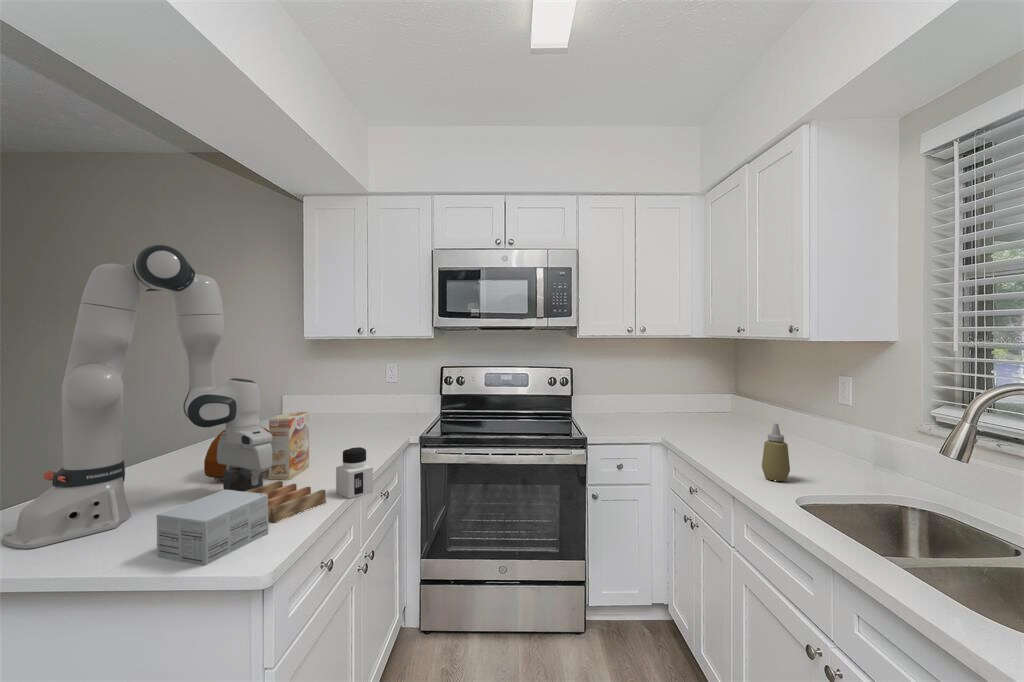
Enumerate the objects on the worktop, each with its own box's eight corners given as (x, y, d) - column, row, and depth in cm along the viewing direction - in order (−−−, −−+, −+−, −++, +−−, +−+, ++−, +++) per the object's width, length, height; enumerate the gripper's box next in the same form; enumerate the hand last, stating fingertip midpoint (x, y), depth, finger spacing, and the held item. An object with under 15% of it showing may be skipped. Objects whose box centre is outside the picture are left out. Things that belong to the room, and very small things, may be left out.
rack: (274, 522, 119) (274, 508, 119) (225, 509, 127) (225, 496, 127) (326, 502, 133) (326, 490, 133) (279, 492, 142) (279, 480, 142)
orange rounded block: (256, 463, 174) (256, 417, 174) (278, 464, 172) (278, 417, 172) (202, 482, 151) (202, 429, 151) (227, 484, 149) (227, 430, 149)
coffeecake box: (290, 480, 154) (289, 418, 154) (267, 479, 154) (267, 418, 154) (310, 467, 169) (310, 411, 169) (289, 467, 169) (289, 411, 169)
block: (230, 501, 134) (230, 472, 134) (223, 499, 136) (223, 470, 136) (262, 490, 143) (262, 463, 143) (256, 489, 145) (256, 462, 145)
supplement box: (224, 527, 116) (224, 488, 116) (269, 533, 113) (269, 493, 113) (154, 558, 100) (154, 513, 100) (204, 567, 96) (204, 520, 96)
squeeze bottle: (790, 478, 157) (791, 423, 157) (789, 485, 150) (789, 427, 150) (762, 474, 161) (763, 420, 161) (760, 480, 154) (760, 424, 154)
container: (373, 492, 142) (373, 448, 142) (348, 499, 136) (348, 453, 136) (359, 487, 147) (359, 444, 147) (335, 493, 141) (335, 448, 141)
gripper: (210, 433, 141) (210, 480, 141) (256, 440, 132) (256, 490, 132) (231, 429, 147) (231, 474, 147) (276, 436, 138) (276, 484, 138)
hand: (243, 482), depth 140 cm, fingers open, 8 cm apart
